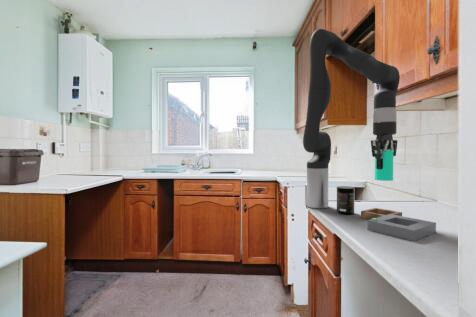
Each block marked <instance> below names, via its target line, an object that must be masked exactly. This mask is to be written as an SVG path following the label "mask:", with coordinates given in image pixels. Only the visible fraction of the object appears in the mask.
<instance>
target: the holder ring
mask: <svg viewBox="0 0 476 317" xmlns="http://www.w3.org/2000/svg"><path fill="white" fill-rule="evenodd" d="M389 214H393V215H398V216H403V211H402V212H401V211H396V210H391V209H386V208H385V209H384V208H379V207H372V208H369V209H365V210H361V211H360V218H361V219H365V220H371V219H372V218H378V217H382V216H386V215H389Z"/></svg>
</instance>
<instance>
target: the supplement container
mask: <svg viewBox="0 0 476 317" xmlns="http://www.w3.org/2000/svg"><path fill="white" fill-rule="evenodd" d="M355 192H356V190H355V186H348V185H347V186H346V185H342V186H341V185H340V186H338V185H337V186H336V213H338V214H339V215H344V216H350V215H351V216H352V215H355V214H354V213H355Z"/></svg>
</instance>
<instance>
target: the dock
mask: <svg viewBox="0 0 476 317" xmlns="http://www.w3.org/2000/svg"><path fill="white" fill-rule="evenodd" d="M367 230H369V231H372V232H375V233H379V234H383V235H389V236H391V237H395V238H396V237H397V238H400V239H405V240H408V241H413V242H415V241H418V240H420V239H423V238H425V237H428V236H431V235H433V234H435V233H437V222H434V221H428V220H423V219H418V218H412V217H407V216H403V215H402V216H398V215H393V214H389V215H386V216H382V217H378V218H372V219H371V220H369V219H367Z"/></svg>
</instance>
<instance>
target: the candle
mask: <svg viewBox="0 0 476 317" xmlns="http://www.w3.org/2000/svg"><path fill="white" fill-rule="evenodd" d="M375 153H376V151H375ZM380 153H381V152H380ZM374 180H376V181H381V182H382V181H383V182H387V181H388V182H389V181H394V157H393V150H389V151H385V152H384V153H383V169H377V168H376V158H375V157H374Z"/></svg>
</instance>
